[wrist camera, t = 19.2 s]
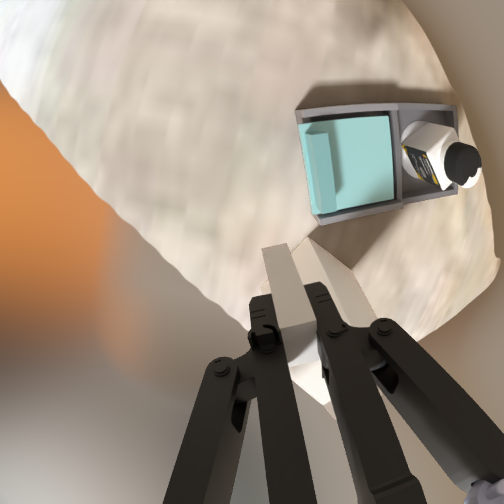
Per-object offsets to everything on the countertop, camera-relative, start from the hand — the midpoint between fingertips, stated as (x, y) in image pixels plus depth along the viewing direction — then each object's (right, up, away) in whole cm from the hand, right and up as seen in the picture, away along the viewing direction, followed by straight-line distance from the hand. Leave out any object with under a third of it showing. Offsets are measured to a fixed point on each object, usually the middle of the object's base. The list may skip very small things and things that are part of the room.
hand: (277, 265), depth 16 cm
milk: (+8, -4, +31) cm, 32 cm away
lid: (+12, +13, +17) cm, 25 cm away
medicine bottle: (+26, +18, +19) cm, 37 cm away
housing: (+20, +17, +21) cm, 33 cm away
